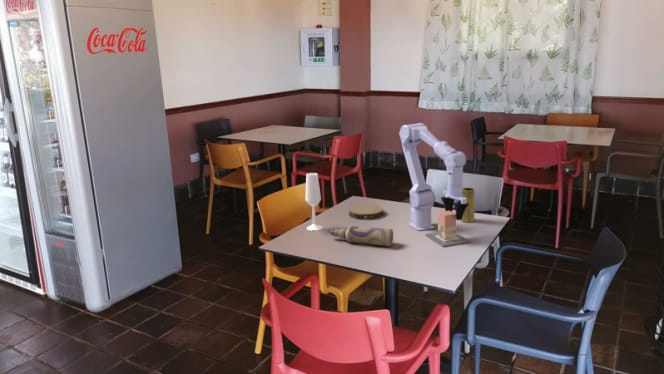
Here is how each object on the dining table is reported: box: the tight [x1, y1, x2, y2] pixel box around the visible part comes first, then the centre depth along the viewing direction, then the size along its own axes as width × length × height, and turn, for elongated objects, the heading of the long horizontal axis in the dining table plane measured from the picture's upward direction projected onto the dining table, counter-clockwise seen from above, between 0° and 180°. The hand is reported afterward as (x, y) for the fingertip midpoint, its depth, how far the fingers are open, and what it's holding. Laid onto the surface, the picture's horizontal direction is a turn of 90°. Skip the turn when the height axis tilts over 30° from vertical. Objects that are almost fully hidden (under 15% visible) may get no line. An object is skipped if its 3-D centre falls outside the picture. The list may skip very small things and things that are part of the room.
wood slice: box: [348, 203, 384, 221], centre depth 237 cm, size 16×16×3 cm
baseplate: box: [425, 231, 472, 248], centre depth 201 cm, size 14×12×1 cm
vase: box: [460, 187, 476, 223], centre depth 221 cm, size 6×6×14 cm
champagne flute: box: [304, 172, 323, 231], centre depth 218 cm, size 7×7×24 cm
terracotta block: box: [437, 211, 457, 228], centre depth 199 cm, size 5×5×5 cm
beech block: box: [437, 223, 457, 240], centre depth 201 cm, size 5×5×5 cm
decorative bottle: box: [329, 225, 394, 248], centre depth 201 cm, size 26×8×7 cm, turn 67°
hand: (454, 216), depth 200 cm, fingers open, 7 cm apart
